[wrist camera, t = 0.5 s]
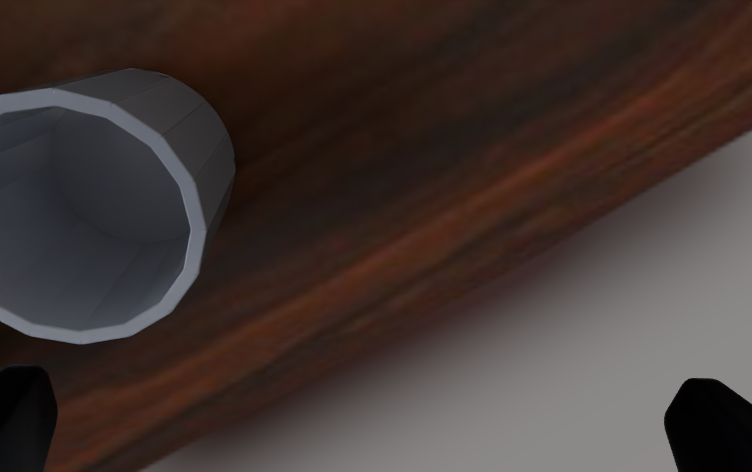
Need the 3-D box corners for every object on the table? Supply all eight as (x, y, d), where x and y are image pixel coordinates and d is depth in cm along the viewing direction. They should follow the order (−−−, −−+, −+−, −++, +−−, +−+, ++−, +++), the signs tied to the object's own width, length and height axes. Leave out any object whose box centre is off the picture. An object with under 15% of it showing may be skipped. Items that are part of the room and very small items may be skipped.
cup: (251, 232, 22) (229, 320, 16) (77, 259, 22) (-21, 362, 15) (213, 55, 20) (168, 71, 13) (18, 82, 19) (-127, 112, 13)
